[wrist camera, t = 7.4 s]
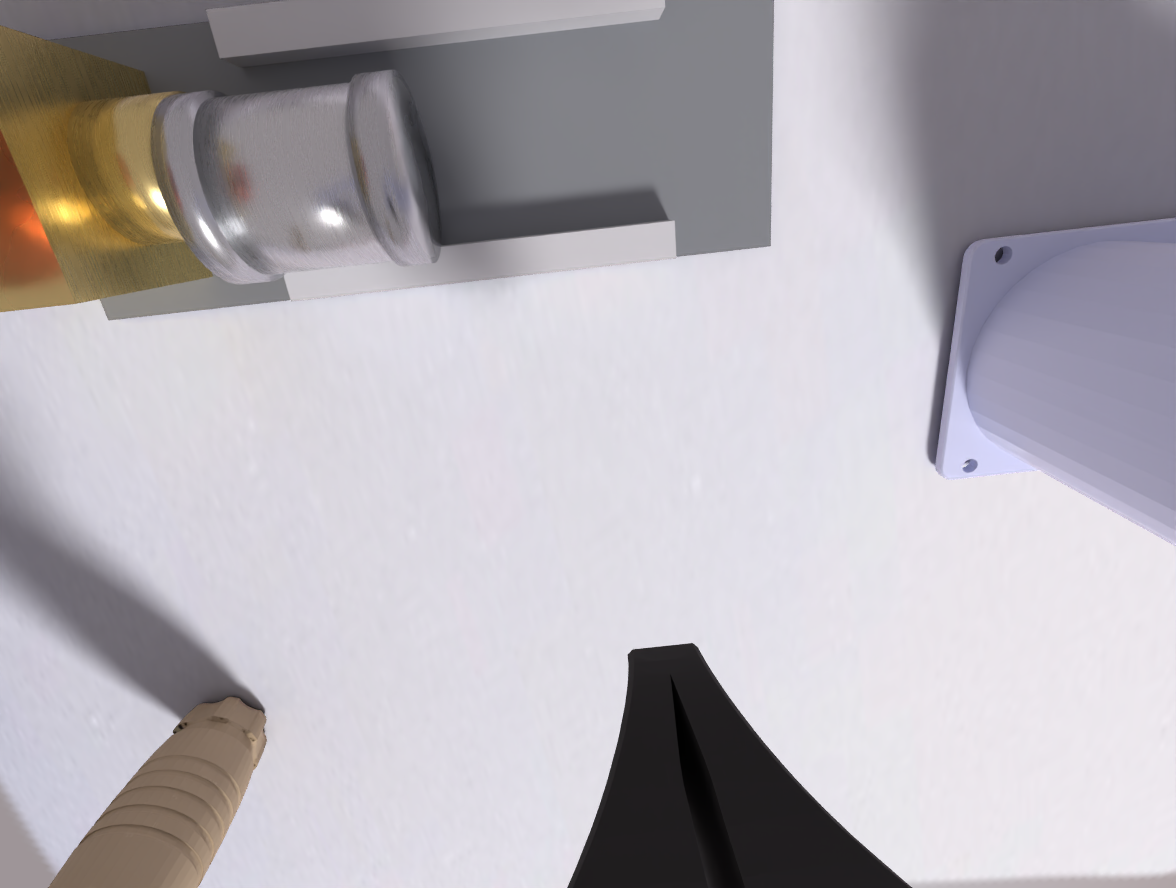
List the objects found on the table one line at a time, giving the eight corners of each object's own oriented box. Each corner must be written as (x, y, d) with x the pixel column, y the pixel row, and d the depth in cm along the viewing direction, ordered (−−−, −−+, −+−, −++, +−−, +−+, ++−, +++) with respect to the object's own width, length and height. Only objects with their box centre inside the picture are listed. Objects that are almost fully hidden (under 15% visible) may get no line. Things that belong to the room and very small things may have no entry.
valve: (219, 62, 15) (-26, -41, 9) (280, 269, 17) (114, 304, 11) (-30, 91, 15) (-451, 10, 9) (59, 294, 17) (-235, 344, 11)
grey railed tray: (769, -38, 15) (788, -62, 14) (766, 245, 18) (782, 248, 16) (8, 50, 15) (-44, 35, 14) (118, 318, 18) (82, 326, 17)
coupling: (407, 57, 15) (369, 86, 11) (448, 228, 17) (427, 291, 14) (210, 80, 15) (115, 115, 11) (282, 247, 17) (223, 314, 14)
